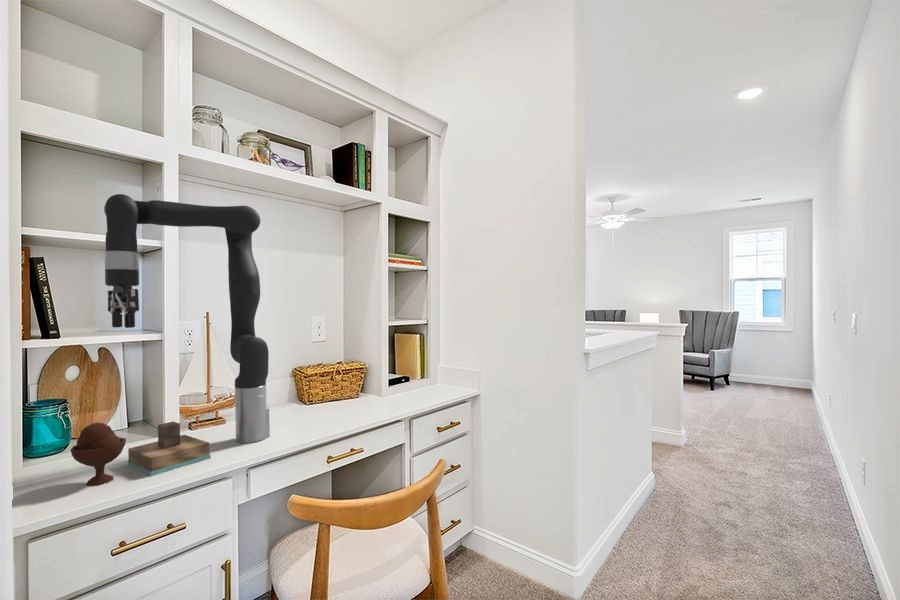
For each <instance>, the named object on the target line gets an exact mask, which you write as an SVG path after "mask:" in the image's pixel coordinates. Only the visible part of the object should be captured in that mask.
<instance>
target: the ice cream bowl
mask: <svg viewBox="0 0 900 600" xmlns="http://www.w3.org/2000/svg"><path fill="white" fill-rule="evenodd" d="M126 442H127V438H125V437H120V436H118V435H116V432H115V431H114V430H113V429H112V427H111V426H110V425H108V424H106V423H104V422H95V423H90V424H88V425H87V426H85V427H84V428H83V429H81V430H80V434H79V436H78V438H77V440H76V444H75V445H73V446H72V448H70V453H71V457H73V459H74V460H75V461H76V462H78V463H80V464H81V465H84V466H87V467H93V468H94V469H95V475H94V476H93V477H91V478H90V479H88V480H87V482H86V486H87V487H96V486H101V485H104V483H105V484H108V483H110V482H112V481H114V479H115V478H114V476H113V475H111V474H107V473H105V467H106V465H108V464H109V463H111V462H113V461H114V460H115V459H117V458H118V457H119V456H120V454H122V452H123V450H124V447H126Z"/></svg>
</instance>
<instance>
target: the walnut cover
mask: <svg viewBox="0 0 900 600" xmlns="http://www.w3.org/2000/svg"><path fill="white" fill-rule="evenodd" d="M127 451H128V452H127V453H128V456H127V457H128V461H129V462H131V463H134V464H136V465H138V466H140V467H142V468H145V469H147V470H149V471H151V472H153V471H157V470H160V469H163V468H167V467H170V466H173V465H177V464H180V463H183V462H187V461H190V460H194V459H197V458H200V457H204V456H207V455H209V454H210V442H209V441H205V440H203V439H199V438H196V437H193V436H189V435H186V434H182V435H181V423H179V422H176V421H170V422H163V423H161V424H160V423H159V424H157V441H154V442H150V443H146V444H141V445H137V446H134V447H130V448H129V447H128V450H127Z"/></svg>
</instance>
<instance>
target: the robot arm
mask: <svg viewBox="0 0 900 600" xmlns="http://www.w3.org/2000/svg"><path fill="white" fill-rule="evenodd" d="M103 211H104V215H105V216H106V232H105V257H104V281H105V282H104V283H105V285H106V286H107V287H113V289H112V290H107V311H108V312H109V313H110V314H111V327H112V328H122V327H123V318H124V328H125V329H129V328H130V329H132V328H135V327H136V314H137V312H140V303H139V302H140V300H139V299H140V298H139V289H138V288H133V287H138V286H139V285H140V268H139V267H140V264H139V260H140V259H139V255H138V254H139V253H138V239H137V237H138V236H137V230H138V225H155V226H163V227H165V226H167V227H183V228H184V227H185V228H186V227H191V228H192V227H211V228H212V227H213V228H223V229H224V231H225V237H226V243H227V244H226V245H227V250H228V251H227V252H228V255H227V257H228V262H227V263H228V264H227V265H228V267H227V269H228V295H229V305H230V306H229V307H230V318H231V324H230V325H231V329H230V330H231V331H230V344H229V345H230V352H229V353H230V355H231V358H232V359H233V361H234V362H236V363H238V364H239V373H238V375H237V376H236V378H235V379H234V402H235V406H234V408H235V412H234V413H235V442H237V443H241V444H249V443H256V442H260V441H263V440H264V439H266V438H268V437H271V435H270V434H271V430H270V407H269V406H267V378H268V375H269V360H270V359H269V356H270V355H269V347H268V343H267V342H266V341H265V340H264V339H263V338H261V337H259V336H256V330H255V317H256V314H257V310H258V307H259V304H260V300H261V282H260V281H261V280H260V279H261V278H260V274H259V270H258V266H257V263H256V261H255V258H254V253H253V247H252V246H253V242H252V241H253V240H252V239H253V238H252V236H253V233H254V232H256V231H257V230H258V229H259V227H260V225H261V217H260V214H259V213H258V211H256V209H254V208H252V207H251V206H248V205H232V206H231V205H229V206H226V205H225V206H219V205H218V206H214V205H199V204H190V203H183V202H175V201H167V200H166V201H165V200H158V199H157V200H155V199H154V200H149V201H142V200H134V199H133V198H132V197H131V196H129V195H127V194H124V193H123V194H122V193H117V194H113V195H111V196H109V197H108V198H107V199H106V202H105V204H104V208H103ZM123 313H124V314H123ZM123 315H124V316H123Z"/></svg>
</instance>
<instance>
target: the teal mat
mask: <svg viewBox="0 0 900 600" xmlns="http://www.w3.org/2000/svg"><path fill="white" fill-rule="evenodd" d="M208 458H210V459H211V454H210V453H209V455H207V456H204V457H200V458H197V459H194V460H190V461H187V462H183V463H180V464H177V465H173V466H170V467H167V468H163V469H160V470H157V471H153V472H151V471H149V470H147V469H145V468H142V467H140V466H138V465H136V464H134V463H131V462H129V460H127V466H129V467H131V468H134V469H135V470H138V471H140V472H142V471H143V472H142V473H144V472H145V474H146V475H149V476H150V475H151V477H153V475H154V476H156V474H157V475H159V473H160V474H163V473H166V471H167V472H170V471H173V470H176V469H175V468H177V469H180V468H183V467H186V466H189V465H188V464H190V465H193V464H196V463H199V462H198V461H200V462H202V461H201V460H203V461H206V460H209V459H208ZM205 459H206V460H205ZM195 462H196V463H195ZM192 463H193V464H192ZM185 465H186V466H185ZM182 466H183V467H182ZM179 467H180V468H179ZM172 469H173V470H172ZM169 470H170V471H169ZM162 472H163V473H162Z"/></svg>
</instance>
